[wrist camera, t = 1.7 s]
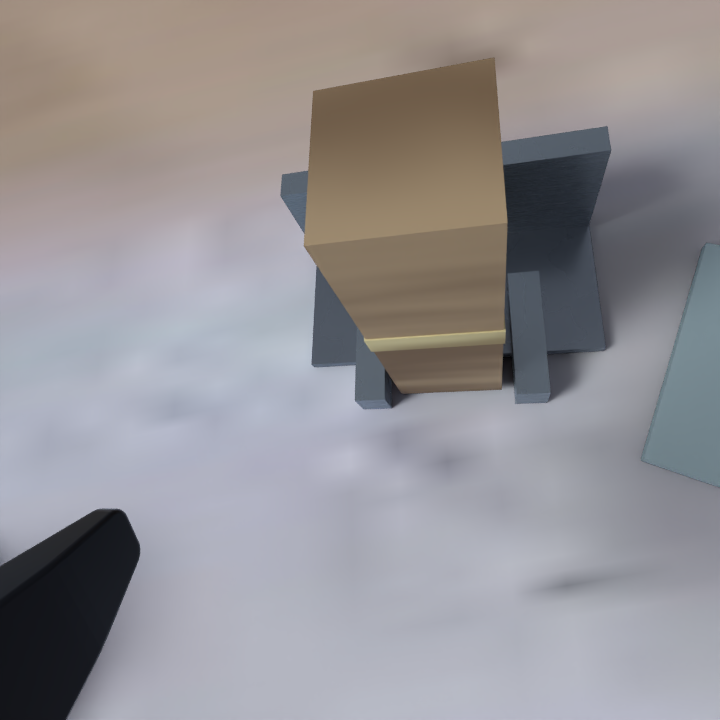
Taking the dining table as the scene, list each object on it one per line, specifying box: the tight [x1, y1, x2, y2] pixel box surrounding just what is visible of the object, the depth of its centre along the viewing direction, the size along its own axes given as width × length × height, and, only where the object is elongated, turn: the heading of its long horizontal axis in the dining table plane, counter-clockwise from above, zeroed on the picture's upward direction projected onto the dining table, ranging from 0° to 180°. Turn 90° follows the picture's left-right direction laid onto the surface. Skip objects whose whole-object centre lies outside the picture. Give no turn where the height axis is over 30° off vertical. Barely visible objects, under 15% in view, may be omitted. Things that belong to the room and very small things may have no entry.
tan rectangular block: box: [304, 58, 507, 394], centre depth 16 cm, size 4×4×12 cm
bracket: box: [281, 126, 611, 409], centre depth 21 cm, size 8×12×5 cm
